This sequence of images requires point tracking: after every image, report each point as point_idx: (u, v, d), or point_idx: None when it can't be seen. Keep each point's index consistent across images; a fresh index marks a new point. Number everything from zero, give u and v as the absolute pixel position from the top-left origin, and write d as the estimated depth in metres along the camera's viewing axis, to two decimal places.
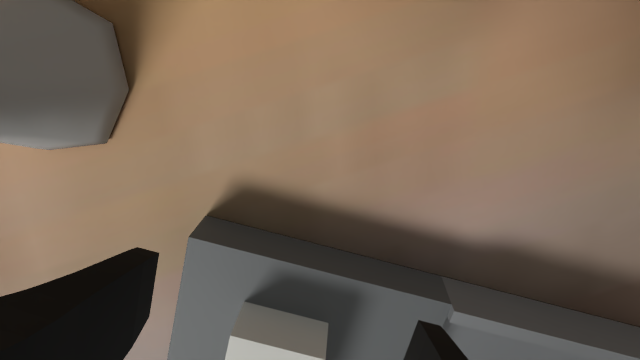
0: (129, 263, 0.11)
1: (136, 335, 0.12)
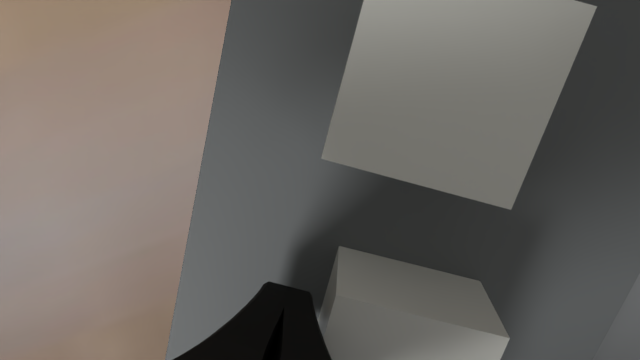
0: (277, 301, 0.11)
1: None
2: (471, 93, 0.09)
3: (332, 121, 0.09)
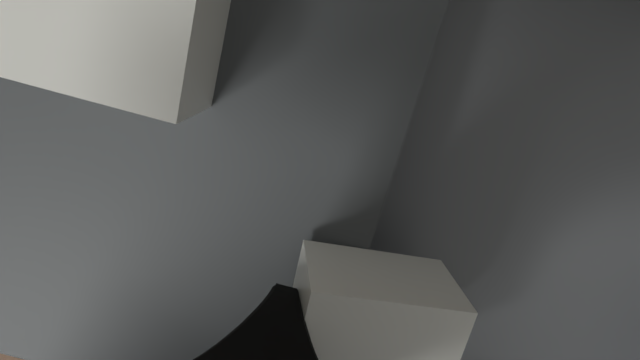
0: (287, 304, 0.11)
1: None
2: (112, 3, 0.09)
3: None
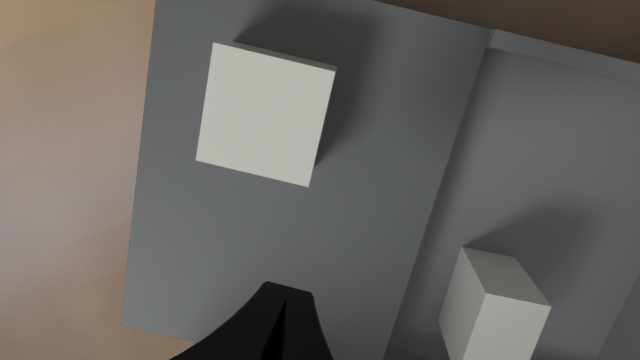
0: (275, 301, 0.11)
1: None
2: (275, 120, 0.15)
3: (199, 138, 0.16)
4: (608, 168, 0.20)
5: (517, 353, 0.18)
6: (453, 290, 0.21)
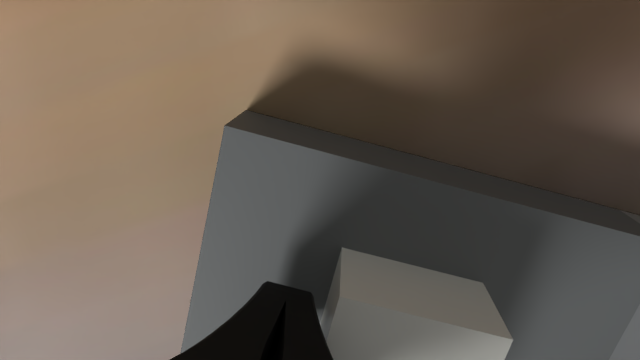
0: (276, 301, 0.11)
1: None
2: None
3: None
4: None
5: None
6: None
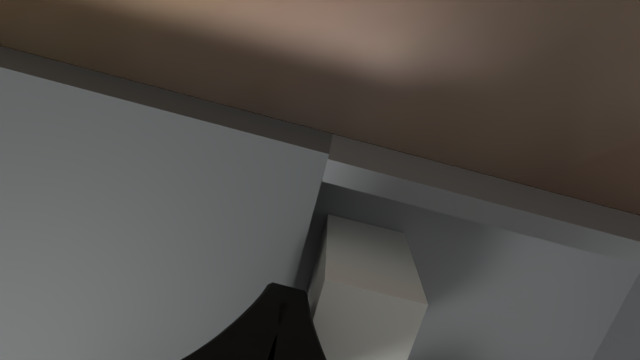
0: (281, 302, 0.11)
1: None
2: None
3: None
4: (509, 311, 0.15)
5: None
6: None
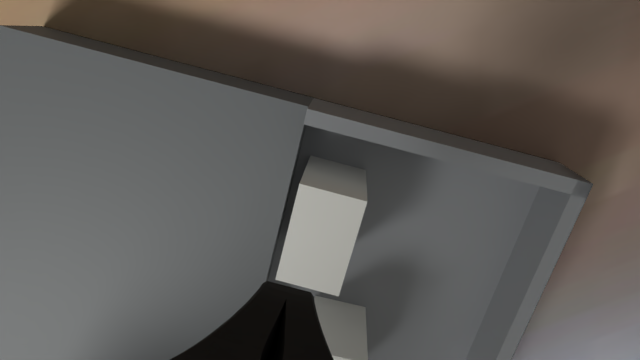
0: (275, 301, 0.11)
1: None
2: None
3: (343, 278, 0.17)
4: (444, 228, 0.21)
5: None
6: None
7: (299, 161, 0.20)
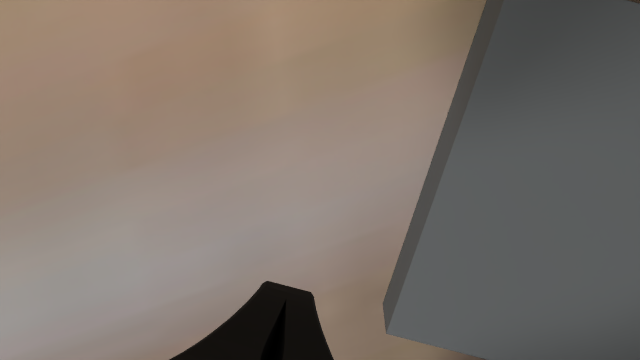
0: (276, 301, 0.11)
1: None
2: None
3: None
4: None
5: None
6: None
7: None
